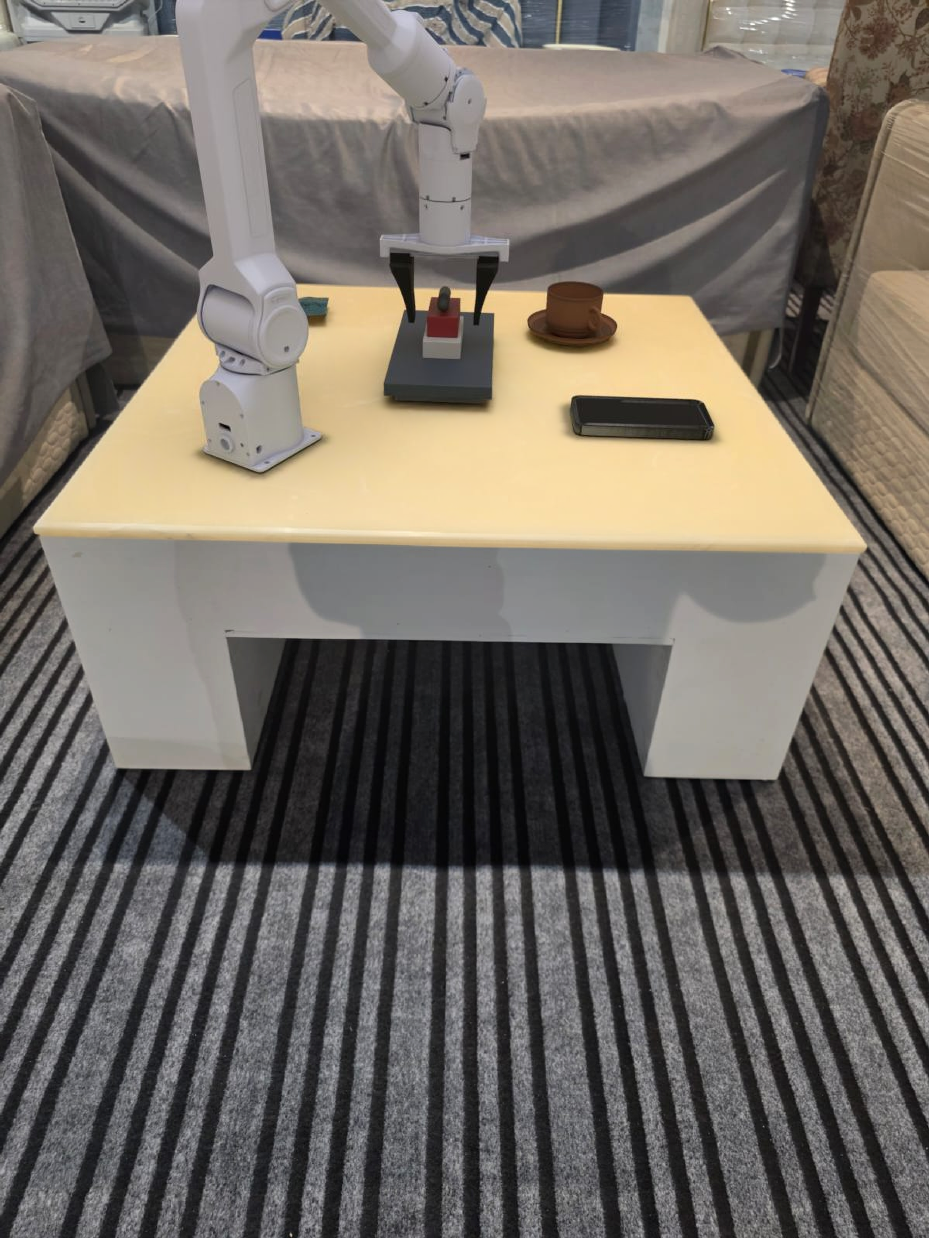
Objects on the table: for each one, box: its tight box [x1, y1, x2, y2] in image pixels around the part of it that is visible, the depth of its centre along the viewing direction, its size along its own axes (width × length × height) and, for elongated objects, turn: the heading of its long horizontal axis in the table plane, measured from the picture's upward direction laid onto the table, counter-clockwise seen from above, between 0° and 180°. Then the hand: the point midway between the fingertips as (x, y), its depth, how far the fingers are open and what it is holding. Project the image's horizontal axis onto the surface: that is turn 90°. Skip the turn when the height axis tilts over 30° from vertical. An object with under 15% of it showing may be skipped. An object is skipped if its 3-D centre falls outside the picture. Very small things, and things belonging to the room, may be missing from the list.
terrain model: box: [298, 296, 330, 317], centre depth 115 cm, size 13×8×2 cm, turn 97°
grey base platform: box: [383, 309, 495, 405], centre depth 102 cm, size 24×12×3 cm, turn 178°
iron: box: [423, 285, 464, 359], centre depth 99 cm, size 9×4×6 cm, turn 178°
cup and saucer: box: [526, 280, 618, 347], centre depth 111 cm, size 12×12×6 cm
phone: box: [570, 394, 715, 440], centre depth 92 cm, size 8×1×15 cm
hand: (444, 321), depth 100 cm, fingers open, 7 cm apart
